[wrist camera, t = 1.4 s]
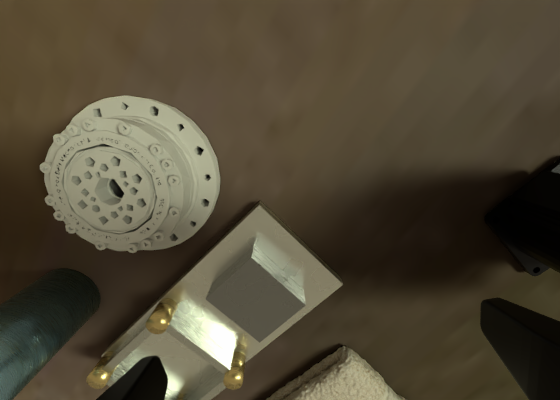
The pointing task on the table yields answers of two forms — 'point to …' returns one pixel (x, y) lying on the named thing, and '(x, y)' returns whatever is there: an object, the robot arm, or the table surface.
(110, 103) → the mechanical component
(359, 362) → the washcloth
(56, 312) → the cylinder
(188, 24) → the table surface
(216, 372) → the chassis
